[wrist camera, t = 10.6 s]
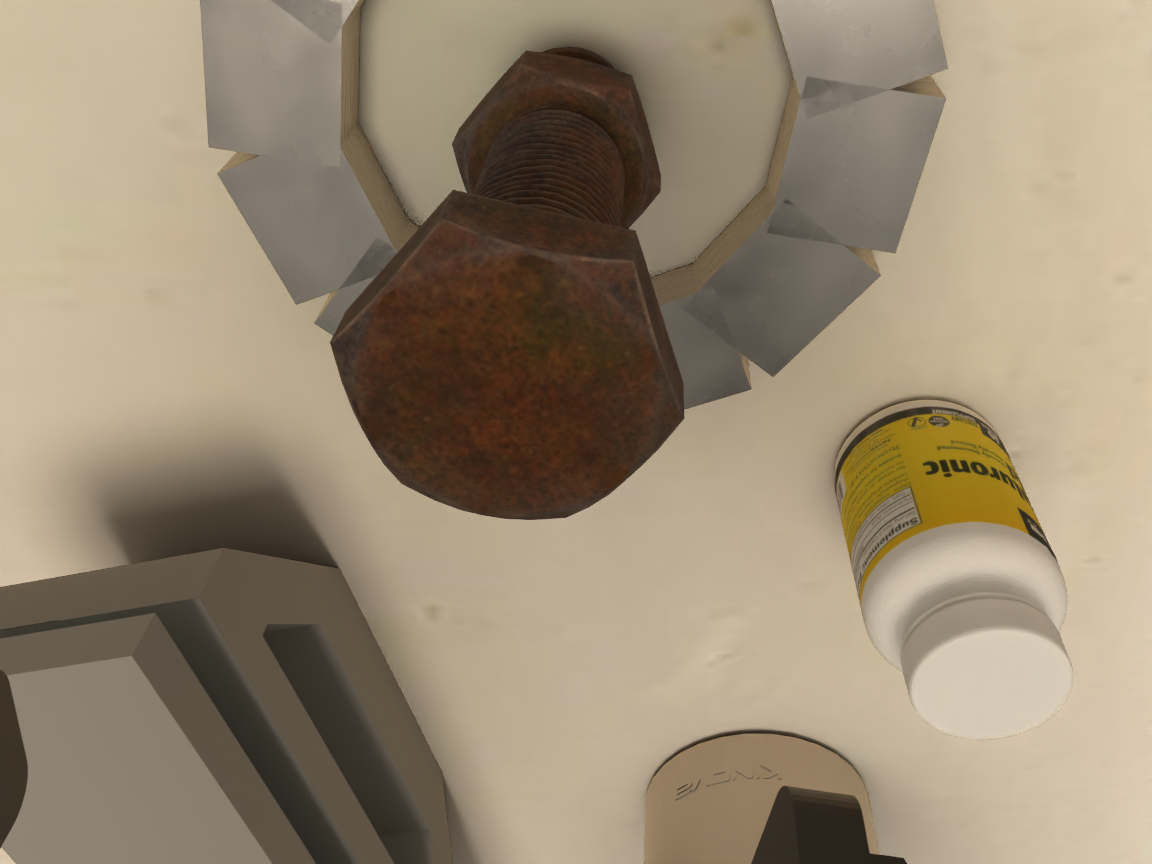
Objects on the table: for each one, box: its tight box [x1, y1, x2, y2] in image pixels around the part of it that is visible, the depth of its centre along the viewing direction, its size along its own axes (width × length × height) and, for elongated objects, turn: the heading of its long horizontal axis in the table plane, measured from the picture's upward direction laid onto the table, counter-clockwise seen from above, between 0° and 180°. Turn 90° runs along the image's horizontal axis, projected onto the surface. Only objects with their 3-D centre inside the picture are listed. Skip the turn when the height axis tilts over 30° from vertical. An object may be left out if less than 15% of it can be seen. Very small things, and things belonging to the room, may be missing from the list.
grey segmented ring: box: [200, 0, 948, 409], centre depth 29 cm, size 18×18×2 cm
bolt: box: [330, 47, 684, 520], centre depth 23 cm, size 6×5×15 cm
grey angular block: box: [0, 548, 453, 864], centre depth 39 cm, size 25×8×11 cm, turn 15°
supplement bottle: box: [834, 400, 1073, 740], centre depth 31 cm, size 5×5×10 cm
